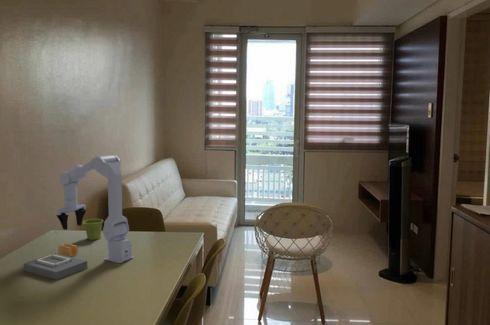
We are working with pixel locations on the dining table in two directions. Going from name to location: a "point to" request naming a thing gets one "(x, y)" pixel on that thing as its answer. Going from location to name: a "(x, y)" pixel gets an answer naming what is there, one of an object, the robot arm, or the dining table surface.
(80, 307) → the dining table surface
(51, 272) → the large grey panel
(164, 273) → the dining table surface
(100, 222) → the plant pot
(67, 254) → the chute
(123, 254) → the robot arm
